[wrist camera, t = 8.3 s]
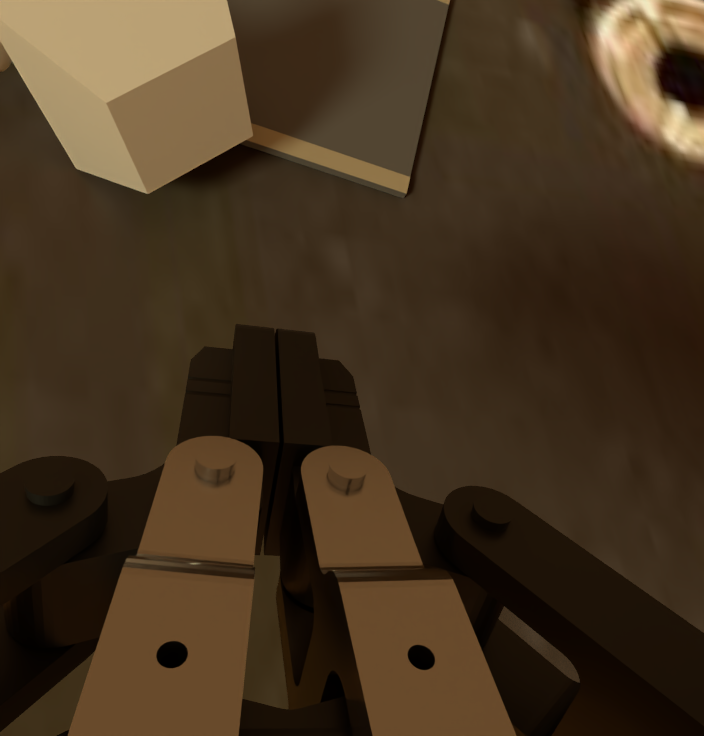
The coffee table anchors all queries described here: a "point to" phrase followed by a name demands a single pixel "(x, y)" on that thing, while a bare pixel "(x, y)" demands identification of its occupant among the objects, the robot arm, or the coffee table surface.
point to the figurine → (131, 82)
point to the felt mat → (340, 82)
